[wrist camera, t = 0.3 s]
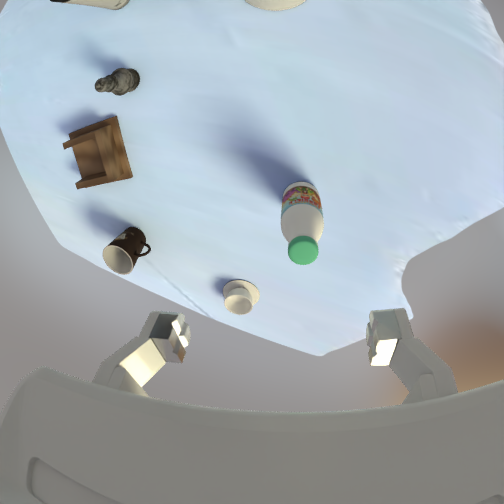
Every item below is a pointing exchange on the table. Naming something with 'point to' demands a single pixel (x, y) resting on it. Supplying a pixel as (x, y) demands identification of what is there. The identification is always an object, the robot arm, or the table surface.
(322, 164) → the table surface
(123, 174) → the u-rest
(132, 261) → the coffee mug
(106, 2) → the travel mug
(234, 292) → the teacup
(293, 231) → the milk bottle
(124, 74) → the grey chess piece
